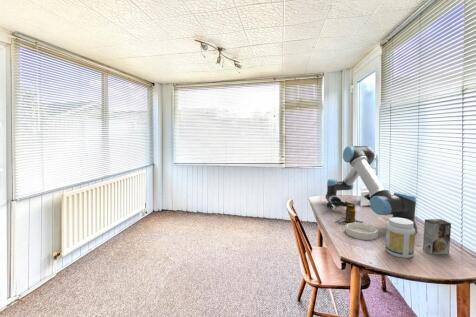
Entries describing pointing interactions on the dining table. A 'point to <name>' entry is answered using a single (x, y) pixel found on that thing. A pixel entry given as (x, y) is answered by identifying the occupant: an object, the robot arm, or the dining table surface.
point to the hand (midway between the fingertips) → (344, 208)
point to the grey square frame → (344, 223)
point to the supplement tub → (400, 237)
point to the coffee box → (436, 236)
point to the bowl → (361, 231)
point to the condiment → (350, 214)
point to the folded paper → (365, 196)
